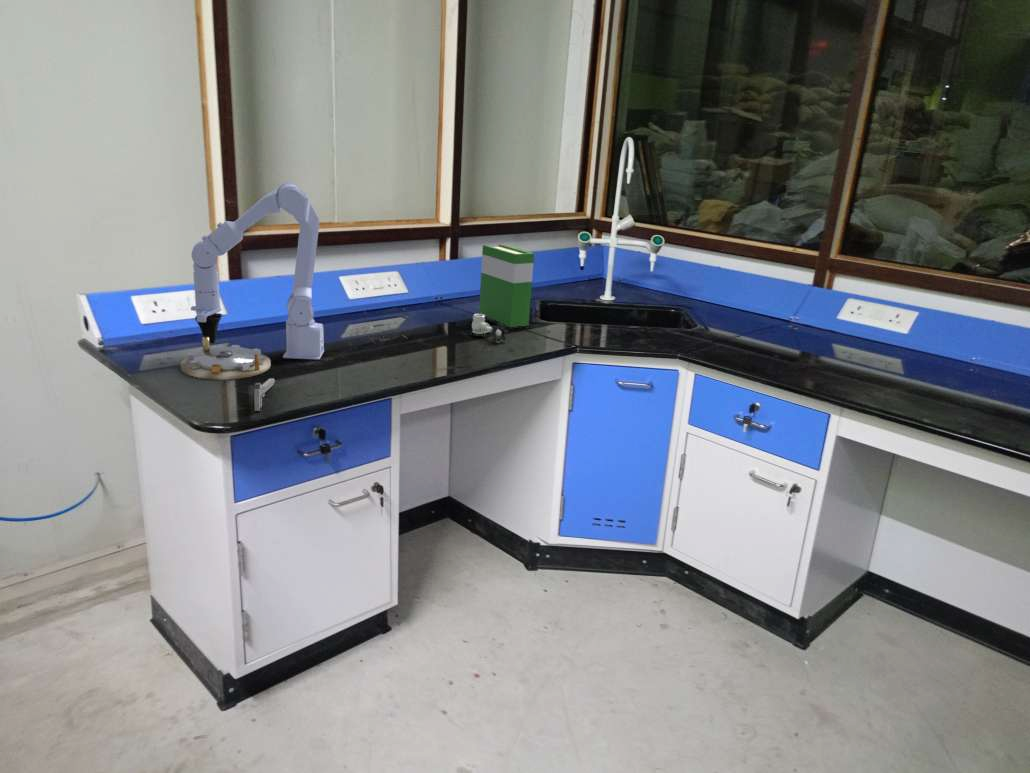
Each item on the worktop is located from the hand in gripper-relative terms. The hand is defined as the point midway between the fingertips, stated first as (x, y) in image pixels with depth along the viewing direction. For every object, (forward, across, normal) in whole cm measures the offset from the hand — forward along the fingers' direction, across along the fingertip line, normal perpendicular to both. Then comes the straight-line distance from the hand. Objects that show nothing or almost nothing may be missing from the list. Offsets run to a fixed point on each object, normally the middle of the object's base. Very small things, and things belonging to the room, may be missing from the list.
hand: (210, 342), depth 195 cm
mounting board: (+4, +7, +5) cm, 10 cm away
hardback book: (+4, -47, +81) cm, 94 cm away
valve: (+4, -26, +74) cm, 78 cm away
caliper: (+4, +28, +18) cm, 33 cm away
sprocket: (+3, +7, +5) cm, 9 cm away
